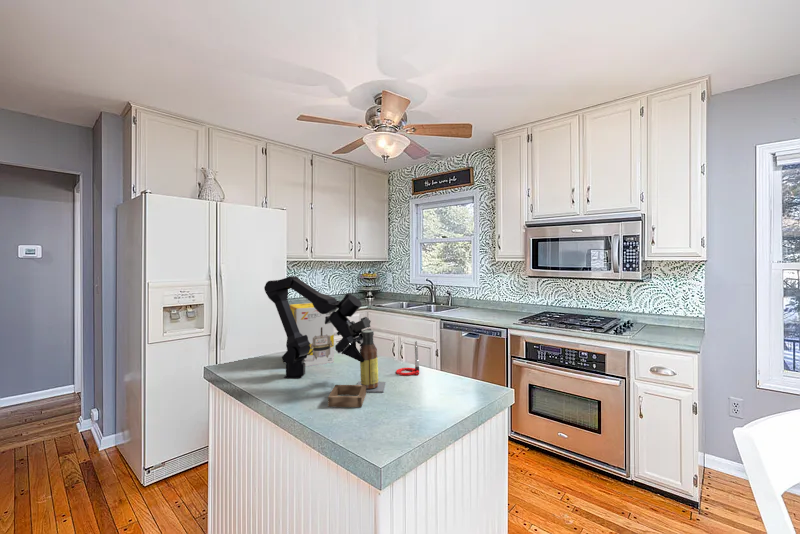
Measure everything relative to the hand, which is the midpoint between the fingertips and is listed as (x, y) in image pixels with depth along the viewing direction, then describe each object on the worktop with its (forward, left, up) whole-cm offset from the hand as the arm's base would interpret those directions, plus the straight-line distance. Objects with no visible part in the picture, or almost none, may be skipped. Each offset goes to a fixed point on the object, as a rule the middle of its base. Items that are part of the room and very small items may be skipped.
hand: (369, 358), depth 132 cm
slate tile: (0, 0, -10) cm, 10 cm away
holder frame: (-6, -12, -10) cm, 17 cm away
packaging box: (-31, +34, -11) cm, 47 cm away
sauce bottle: (0, -1, -10) cm, 10 cm away
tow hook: (+13, +18, -11) cm, 25 cm away
